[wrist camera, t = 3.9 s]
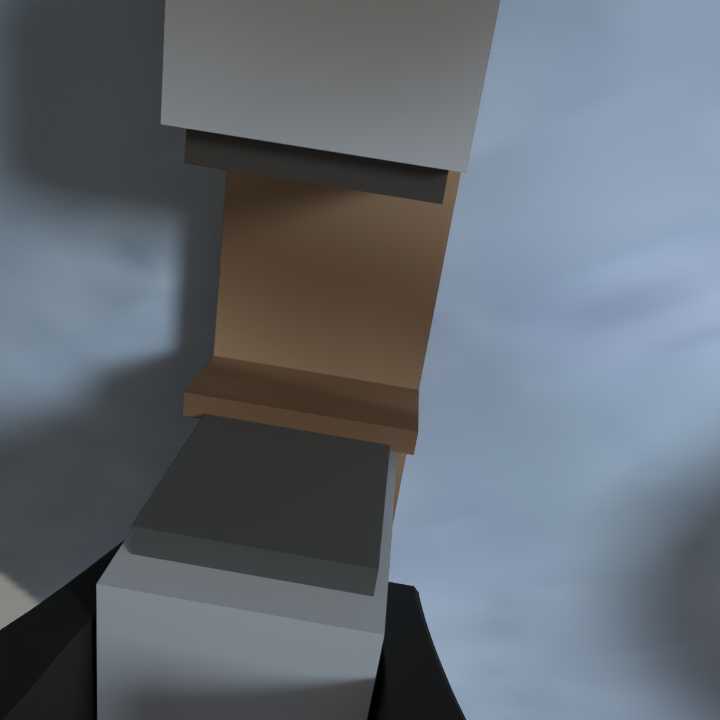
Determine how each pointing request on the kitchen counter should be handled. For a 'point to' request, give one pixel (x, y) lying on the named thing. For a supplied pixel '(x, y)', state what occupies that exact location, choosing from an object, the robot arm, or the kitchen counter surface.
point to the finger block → (251, 581)
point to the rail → (327, 197)
